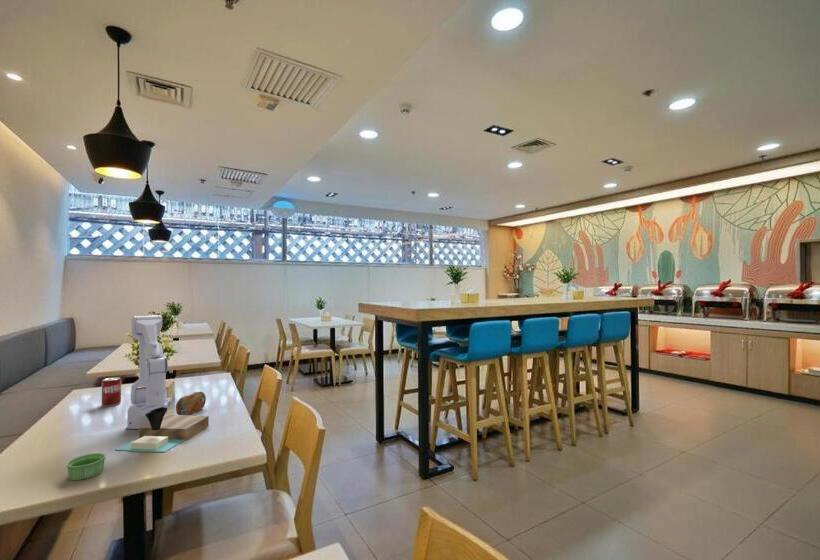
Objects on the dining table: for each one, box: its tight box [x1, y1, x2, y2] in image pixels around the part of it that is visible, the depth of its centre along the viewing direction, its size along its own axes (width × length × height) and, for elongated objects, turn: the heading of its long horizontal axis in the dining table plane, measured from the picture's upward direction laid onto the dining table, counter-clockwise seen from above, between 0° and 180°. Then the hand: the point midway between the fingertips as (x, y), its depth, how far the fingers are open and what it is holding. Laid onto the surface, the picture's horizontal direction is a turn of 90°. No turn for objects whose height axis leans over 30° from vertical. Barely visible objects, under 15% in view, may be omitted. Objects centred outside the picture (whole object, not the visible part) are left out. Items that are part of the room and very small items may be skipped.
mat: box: [115, 437, 186, 453], centre depth 136 cm, size 18×10×1 cm, turn 85°
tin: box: [175, 391, 207, 415], centre depth 170 cm, size 15×3×8 cm, turn 168°
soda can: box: [101, 376, 122, 408], centre depth 182 cm, size 7×7×12 cm
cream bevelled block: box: [131, 436, 168, 450], centre depth 135 cm, size 9×6×2 cm, turn 85°
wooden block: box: [138, 414, 210, 441], centre depth 148 cm, size 18×14×4 cm
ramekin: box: [66, 452, 107, 481], centre depth 116 cm, size 9×9×4 cm
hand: (155, 429), depth 139 cm, fingers closed
